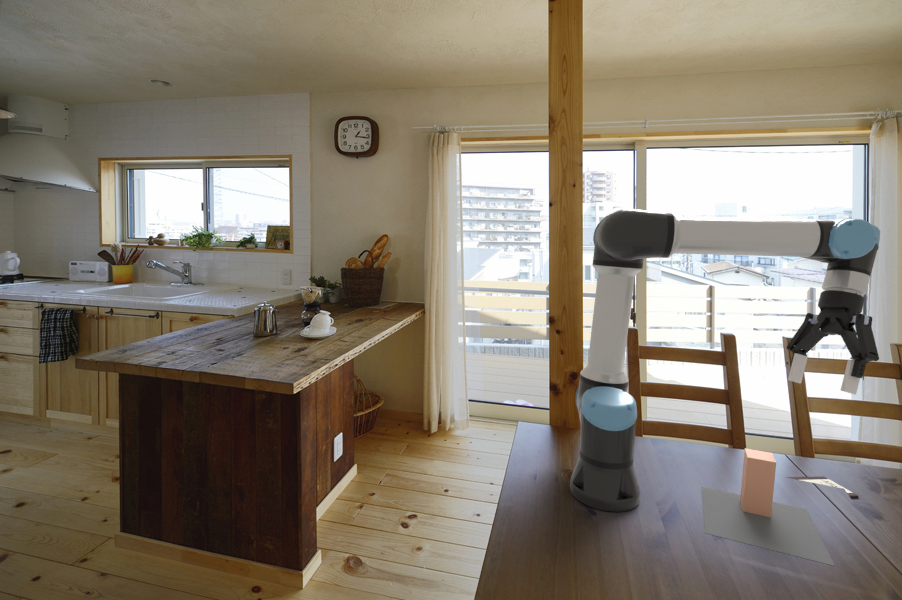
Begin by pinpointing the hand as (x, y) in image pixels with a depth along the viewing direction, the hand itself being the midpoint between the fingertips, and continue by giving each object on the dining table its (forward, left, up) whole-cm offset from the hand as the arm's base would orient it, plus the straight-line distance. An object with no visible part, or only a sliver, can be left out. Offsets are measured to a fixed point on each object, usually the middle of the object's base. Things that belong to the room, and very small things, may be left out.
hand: (819, 387), depth 100 cm
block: (-11, -11, -26) cm, 30 cm away
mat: (-11, -16, -26) cm, 33 cm away
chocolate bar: (+1, +6, -27) cm, 28 cm away
